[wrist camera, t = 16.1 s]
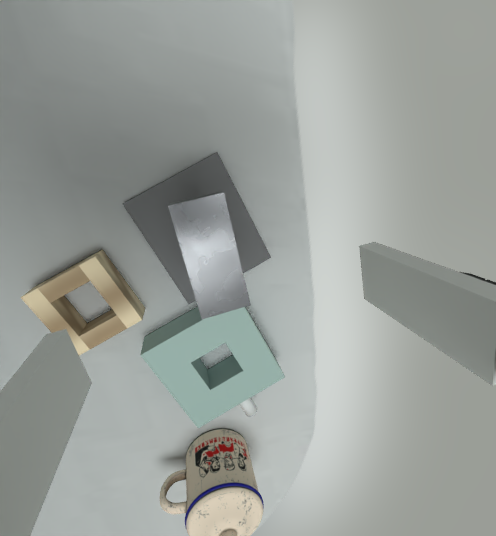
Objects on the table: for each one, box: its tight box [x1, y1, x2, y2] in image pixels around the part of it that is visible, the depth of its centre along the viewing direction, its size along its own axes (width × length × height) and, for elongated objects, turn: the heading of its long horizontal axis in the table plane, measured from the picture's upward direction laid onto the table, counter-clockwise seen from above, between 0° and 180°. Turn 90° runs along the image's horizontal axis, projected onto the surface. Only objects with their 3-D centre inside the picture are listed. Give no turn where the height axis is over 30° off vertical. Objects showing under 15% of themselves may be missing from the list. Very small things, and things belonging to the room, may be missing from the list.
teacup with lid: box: [160, 429, 263, 536], centre depth 38 cm, size 12×9×12 cm
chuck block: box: [141, 307, 285, 428], centre depth 37 cm, size 16×12×4 cm
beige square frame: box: [21, 249, 145, 355], centre depth 32 cm, size 8×8×3 cm
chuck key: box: [168, 191, 250, 319], centre depth 28 cm, size 4×9×12 cm, turn 12°
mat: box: [123, 153, 271, 304], centre depth 34 cm, size 13×11×1 cm
